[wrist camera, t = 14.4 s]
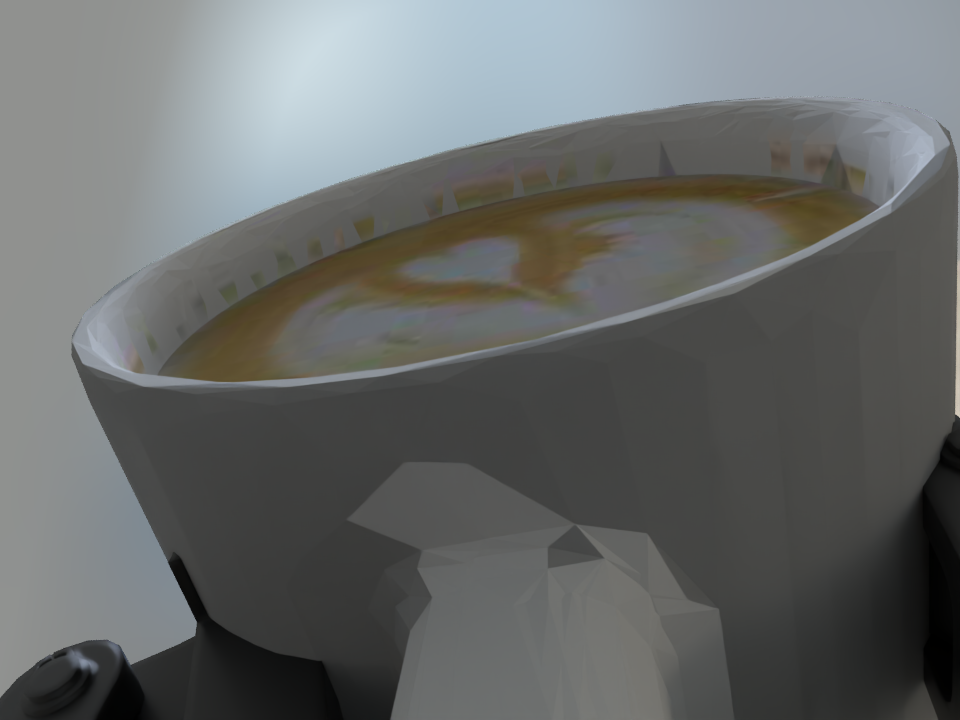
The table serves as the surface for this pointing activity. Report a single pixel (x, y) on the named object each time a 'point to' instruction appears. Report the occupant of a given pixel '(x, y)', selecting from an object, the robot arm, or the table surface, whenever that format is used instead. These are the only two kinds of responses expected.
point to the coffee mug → (566, 417)
